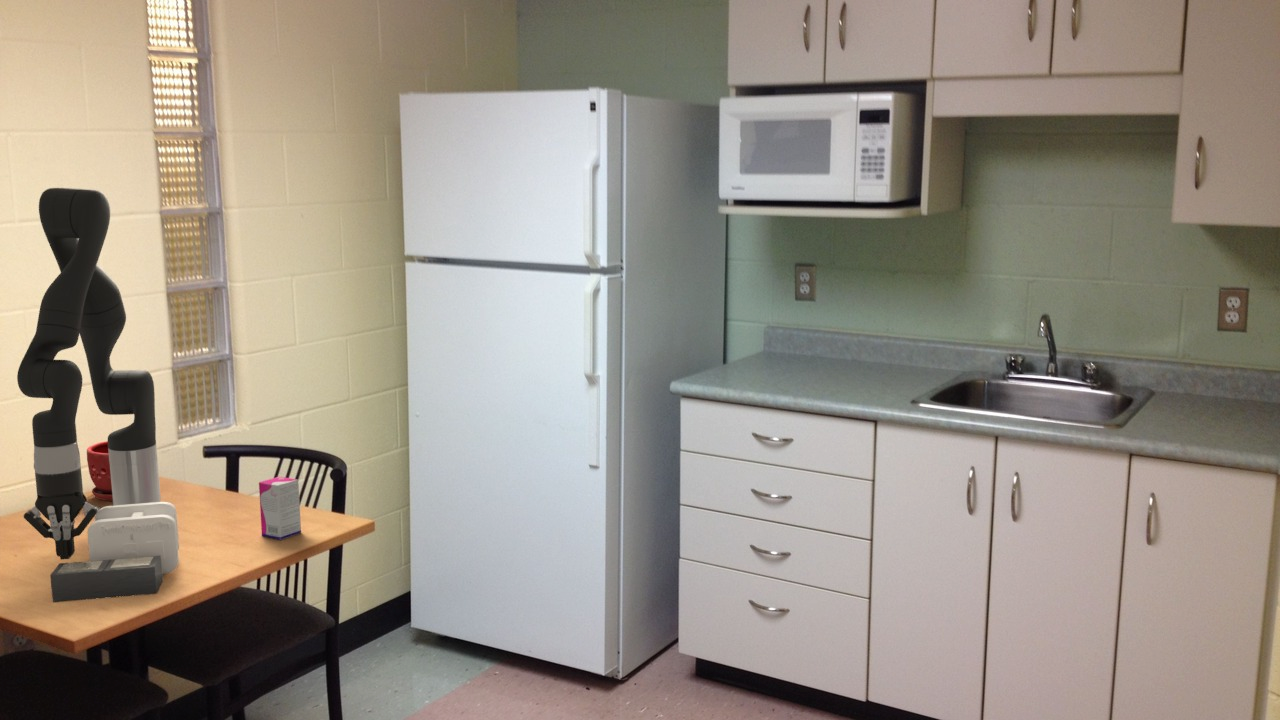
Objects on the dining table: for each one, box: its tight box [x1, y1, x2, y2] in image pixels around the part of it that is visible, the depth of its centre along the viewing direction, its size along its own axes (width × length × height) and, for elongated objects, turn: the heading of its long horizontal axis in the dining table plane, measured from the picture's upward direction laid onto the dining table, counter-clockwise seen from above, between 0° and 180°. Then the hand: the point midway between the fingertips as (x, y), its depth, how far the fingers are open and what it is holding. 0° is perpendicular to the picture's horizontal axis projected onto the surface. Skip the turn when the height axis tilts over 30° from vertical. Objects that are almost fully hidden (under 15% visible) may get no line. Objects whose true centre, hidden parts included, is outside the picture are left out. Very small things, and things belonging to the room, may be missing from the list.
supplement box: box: [258, 476, 302, 541], centre depth 234 cm, size 6×6×12 cm
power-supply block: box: [49, 556, 164, 603], centre depth 203 cm, size 6×17×5 cm, turn 103°
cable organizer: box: [86, 501, 180, 576], centre depth 213 cm, size 15×11×12 cm
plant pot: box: [86, 440, 113, 502], centre depth 262 cm, size 13×13×12 cm
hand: (65, 557), depth 211 cm, fingers closed
